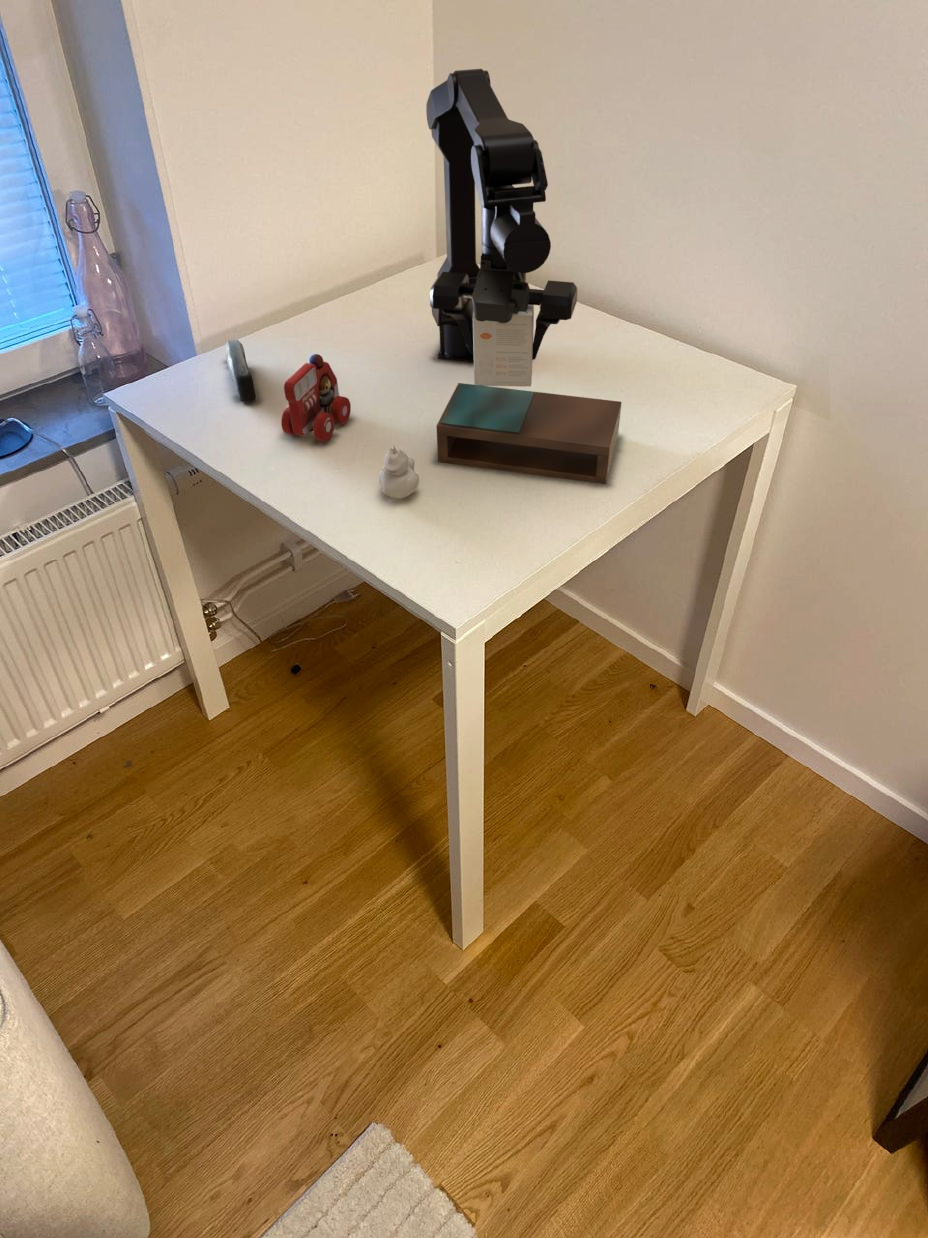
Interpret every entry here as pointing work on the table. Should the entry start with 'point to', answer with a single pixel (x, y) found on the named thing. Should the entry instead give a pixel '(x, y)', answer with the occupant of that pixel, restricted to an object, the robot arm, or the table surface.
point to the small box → (504, 350)
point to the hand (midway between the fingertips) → (502, 355)
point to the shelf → (529, 432)
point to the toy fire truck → (314, 401)
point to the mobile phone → (240, 371)
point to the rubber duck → (398, 474)
